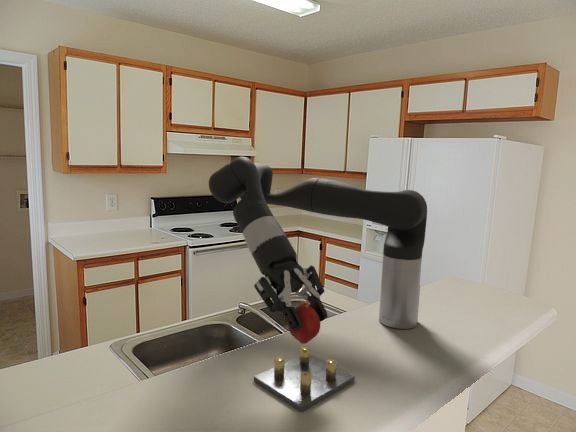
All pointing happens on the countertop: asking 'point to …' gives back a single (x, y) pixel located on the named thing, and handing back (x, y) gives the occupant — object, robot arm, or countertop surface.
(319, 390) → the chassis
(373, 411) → the countertop surface
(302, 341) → the onion
